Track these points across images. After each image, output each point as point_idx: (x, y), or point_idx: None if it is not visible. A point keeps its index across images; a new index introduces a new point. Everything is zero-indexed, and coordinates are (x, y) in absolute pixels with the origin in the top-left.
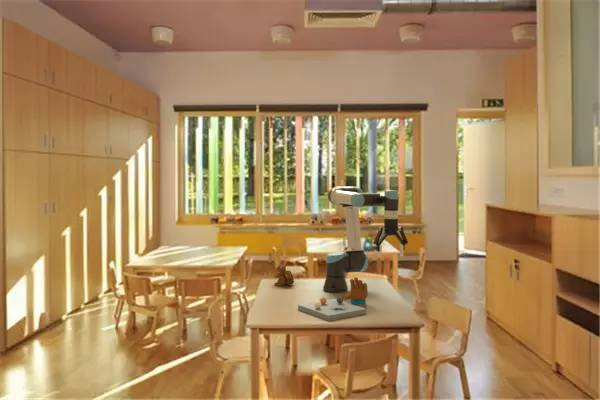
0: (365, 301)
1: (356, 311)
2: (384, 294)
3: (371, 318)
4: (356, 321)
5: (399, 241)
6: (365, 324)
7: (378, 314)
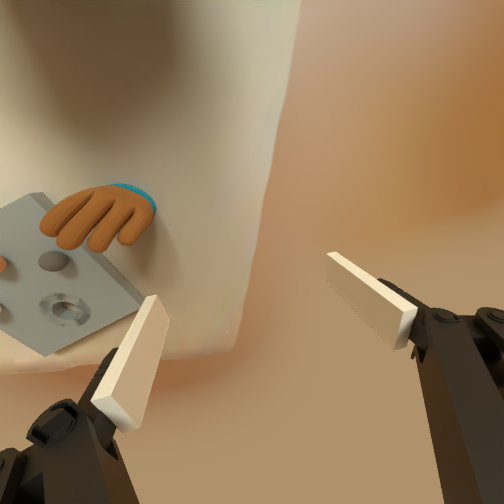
0: (153, 211)
1: (117, 319)
2: (250, 74)
3: None
4: None
5: (434, 346)
6: None
7: (174, 305)
